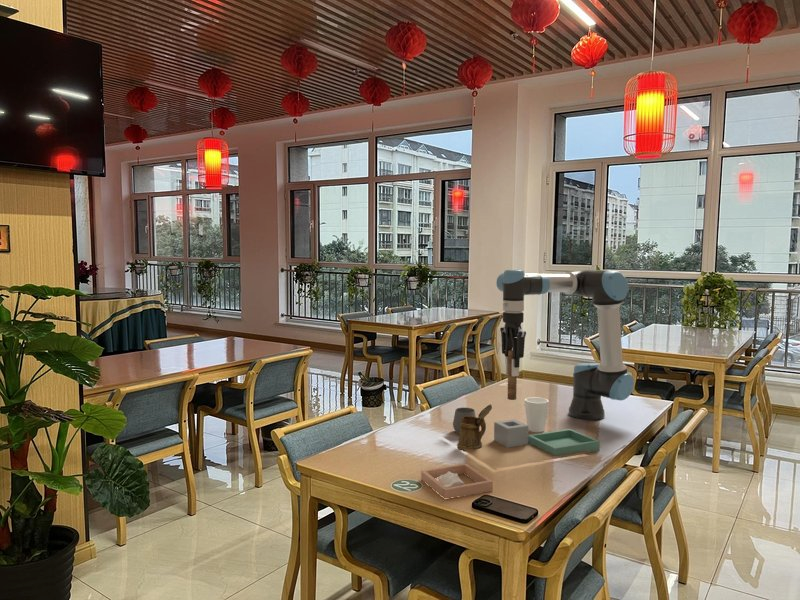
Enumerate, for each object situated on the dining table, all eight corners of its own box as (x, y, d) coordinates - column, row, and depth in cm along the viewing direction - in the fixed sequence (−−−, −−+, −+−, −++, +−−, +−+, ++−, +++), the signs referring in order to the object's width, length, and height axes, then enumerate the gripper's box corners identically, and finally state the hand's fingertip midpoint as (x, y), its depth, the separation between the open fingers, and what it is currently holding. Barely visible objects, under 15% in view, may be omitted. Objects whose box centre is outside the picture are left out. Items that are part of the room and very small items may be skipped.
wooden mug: (483, 457, 204) (483, 406, 202) (452, 448, 213) (452, 400, 212) (497, 450, 211) (497, 402, 209) (466, 442, 220) (467, 395, 218)
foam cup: (548, 436, 227) (549, 403, 225) (524, 434, 228) (524, 402, 227) (547, 429, 236) (548, 397, 235) (524, 427, 238) (524, 396, 237)
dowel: (513, 397, 218) (513, 349, 216) (518, 399, 215) (518, 351, 213) (505, 398, 216) (506, 350, 215) (510, 400, 213) (511, 351, 212)
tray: (570, 437, 225) (570, 428, 225) (599, 450, 211) (599, 441, 210) (527, 444, 217) (527, 435, 217) (554, 458, 203) (554, 448, 202)
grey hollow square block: (514, 439, 223) (514, 419, 222) (528, 446, 214) (528, 425, 214) (494, 442, 219) (494, 421, 219) (507, 450, 211) (507, 428, 210)
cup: (452, 431, 233) (452, 406, 232) (475, 431, 233) (475, 406, 232) (453, 438, 224) (453, 413, 223) (477, 439, 224) (478, 413, 223)
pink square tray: (465, 471, 190) (465, 463, 190) (492, 490, 175) (493, 481, 175) (420, 479, 184) (420, 470, 183) (444, 500, 169) (444, 490, 168)
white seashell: (461, 480, 173) (429, 476, 175) (461, 494, 173) (429, 491, 176) (467, 468, 182) (437, 465, 185) (467, 482, 182) (437, 478, 185)
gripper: (492, 310, 219) (491, 371, 221) (517, 314, 204) (516, 380, 206) (509, 309, 222) (508, 369, 224) (535, 313, 207) (533, 378, 209)
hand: (512, 374), depth 215 cm, fingers closed on dowel, 3 cm apart
